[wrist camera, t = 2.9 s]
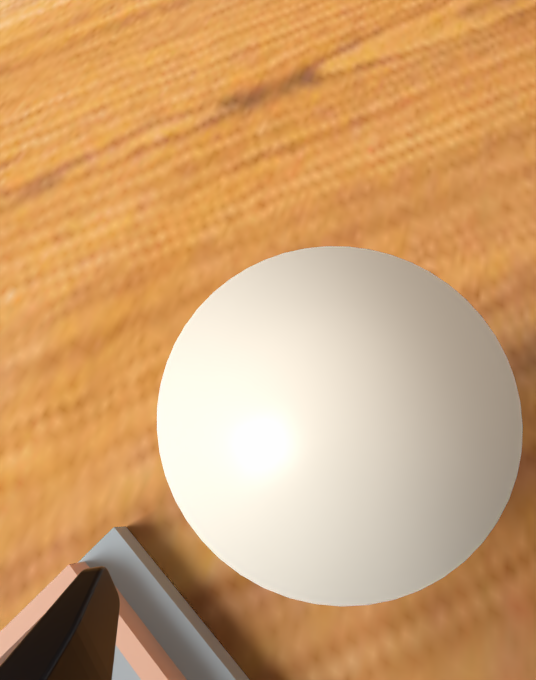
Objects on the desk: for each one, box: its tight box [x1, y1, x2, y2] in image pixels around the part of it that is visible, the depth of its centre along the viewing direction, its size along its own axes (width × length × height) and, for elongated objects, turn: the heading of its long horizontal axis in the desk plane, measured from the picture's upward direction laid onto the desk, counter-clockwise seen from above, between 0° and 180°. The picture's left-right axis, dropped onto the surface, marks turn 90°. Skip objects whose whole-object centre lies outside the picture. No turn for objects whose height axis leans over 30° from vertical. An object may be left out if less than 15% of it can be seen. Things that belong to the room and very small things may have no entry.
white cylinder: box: [157, 246, 523, 606], centre depth 13 cm, size 5×5×13 cm
